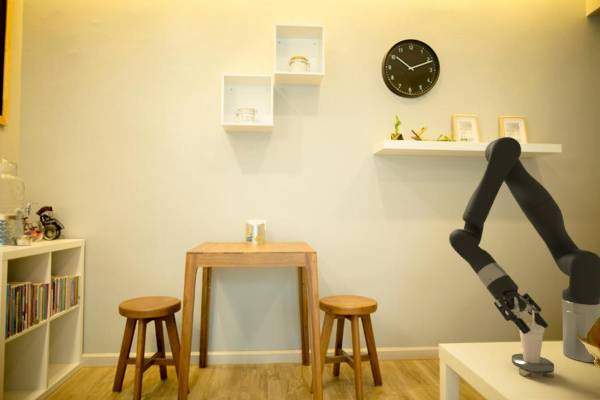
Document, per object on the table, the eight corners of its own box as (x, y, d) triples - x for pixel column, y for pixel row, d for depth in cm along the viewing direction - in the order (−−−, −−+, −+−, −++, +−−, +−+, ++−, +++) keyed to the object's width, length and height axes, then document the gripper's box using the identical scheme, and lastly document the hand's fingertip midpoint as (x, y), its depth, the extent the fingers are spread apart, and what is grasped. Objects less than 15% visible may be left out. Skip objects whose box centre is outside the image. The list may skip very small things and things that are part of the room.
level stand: (512, 361, 106) (512, 350, 106) (553, 369, 101) (553, 358, 101) (511, 374, 98) (511, 363, 98) (555, 384, 92) (555, 372, 93)
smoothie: (549, 366, 96) (549, 314, 96) (523, 364, 97) (523, 313, 97) (538, 356, 102) (538, 308, 102) (514, 354, 103) (514, 306, 104)
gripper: (490, 276, 103) (531, 327, 93) (519, 272, 110) (561, 319, 99) (474, 290, 108) (511, 340, 98) (503, 286, 115) (541, 332, 104)
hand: (536, 330), depth 99 cm, fingers open, 8 cm apart
